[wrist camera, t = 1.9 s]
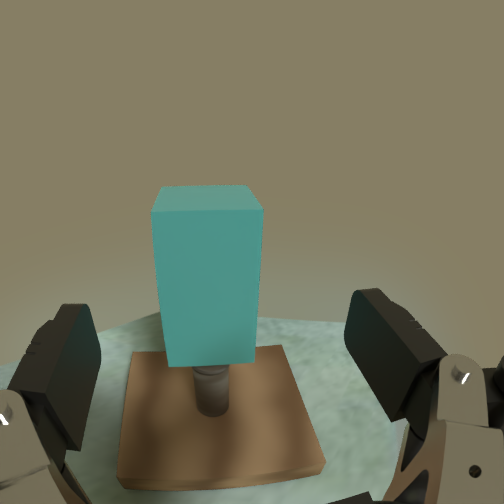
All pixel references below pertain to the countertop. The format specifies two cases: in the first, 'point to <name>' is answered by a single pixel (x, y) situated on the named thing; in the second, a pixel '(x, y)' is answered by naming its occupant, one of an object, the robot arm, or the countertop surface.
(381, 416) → the countertop surface
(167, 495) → the countertop surface
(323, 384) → the countertop surface
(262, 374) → the post stand
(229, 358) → the tall teal pillar
